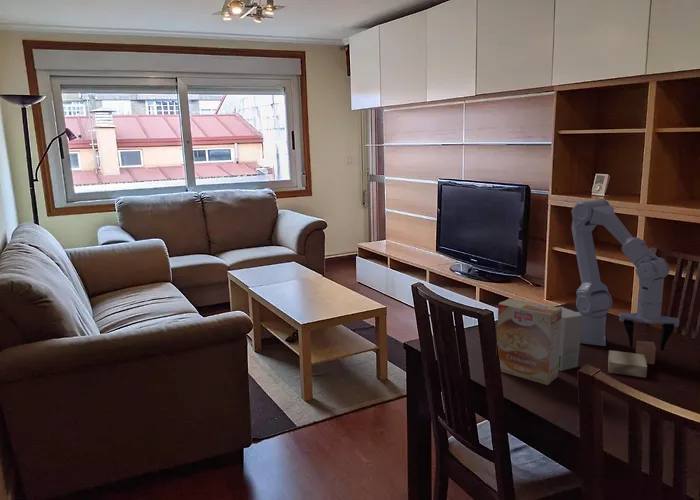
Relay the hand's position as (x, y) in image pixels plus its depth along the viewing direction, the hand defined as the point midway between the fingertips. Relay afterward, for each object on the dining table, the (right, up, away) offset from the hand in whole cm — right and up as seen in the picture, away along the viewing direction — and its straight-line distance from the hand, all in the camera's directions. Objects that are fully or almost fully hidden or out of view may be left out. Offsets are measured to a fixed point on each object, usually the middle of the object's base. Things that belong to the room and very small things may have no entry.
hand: (646, 347), depth 154 cm
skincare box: (-25, -5, 0) cm, 25 cm away
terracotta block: (0, -4, +1) cm, 4 cm away
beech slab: (-8, -5, -4) cm, 10 cm away
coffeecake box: (-36, -6, -6) cm, 37 cm away
